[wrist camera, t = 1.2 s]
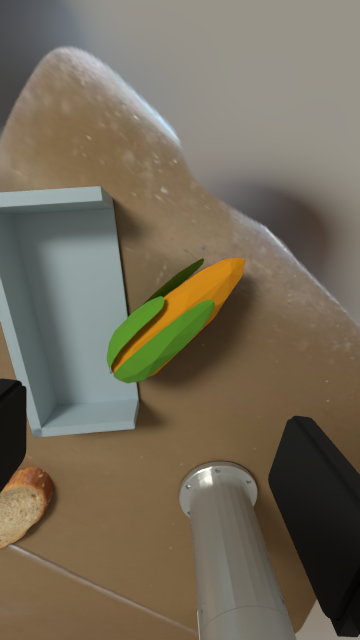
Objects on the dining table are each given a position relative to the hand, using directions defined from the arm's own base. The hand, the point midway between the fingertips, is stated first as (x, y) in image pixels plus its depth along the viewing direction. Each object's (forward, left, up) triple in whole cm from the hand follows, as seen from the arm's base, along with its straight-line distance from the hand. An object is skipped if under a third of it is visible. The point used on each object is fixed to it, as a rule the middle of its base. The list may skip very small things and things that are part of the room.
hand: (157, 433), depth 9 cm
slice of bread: (-31, +30, -24) cm, 49 cm away
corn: (-1, -1, -23) cm, 23 cm away
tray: (-1, +11, -23) cm, 26 cm away
